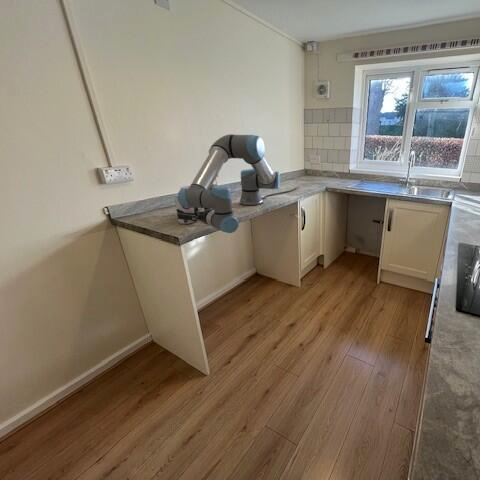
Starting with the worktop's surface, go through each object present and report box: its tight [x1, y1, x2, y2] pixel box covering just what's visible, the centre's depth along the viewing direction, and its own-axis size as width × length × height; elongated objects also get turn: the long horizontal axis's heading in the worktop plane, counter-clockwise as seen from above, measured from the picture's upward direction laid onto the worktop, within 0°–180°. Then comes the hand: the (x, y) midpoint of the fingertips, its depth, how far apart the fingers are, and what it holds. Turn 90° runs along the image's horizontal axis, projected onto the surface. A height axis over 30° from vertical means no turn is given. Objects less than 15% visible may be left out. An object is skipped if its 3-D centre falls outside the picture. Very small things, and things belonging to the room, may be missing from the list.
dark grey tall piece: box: [209, 174, 219, 191], centre depth 182 cm, size 8×11×20 cm
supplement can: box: [173, 193, 196, 225], centre depth 136 cm, size 8×8×15 cm
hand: (191, 209), depth 131 cm, fingers open, 13 cm apart
